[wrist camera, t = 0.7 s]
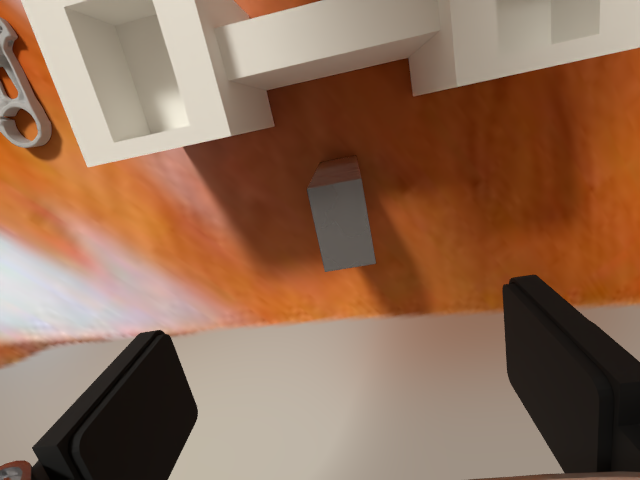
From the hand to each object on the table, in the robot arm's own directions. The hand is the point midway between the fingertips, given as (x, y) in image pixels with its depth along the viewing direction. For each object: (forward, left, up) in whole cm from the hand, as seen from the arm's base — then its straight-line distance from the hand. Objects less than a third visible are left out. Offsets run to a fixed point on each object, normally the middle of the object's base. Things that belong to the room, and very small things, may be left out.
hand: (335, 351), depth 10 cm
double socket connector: (-10, +1, -22) cm, 24 cm away
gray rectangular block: (0, 0, -22) cm, 22 cm away
